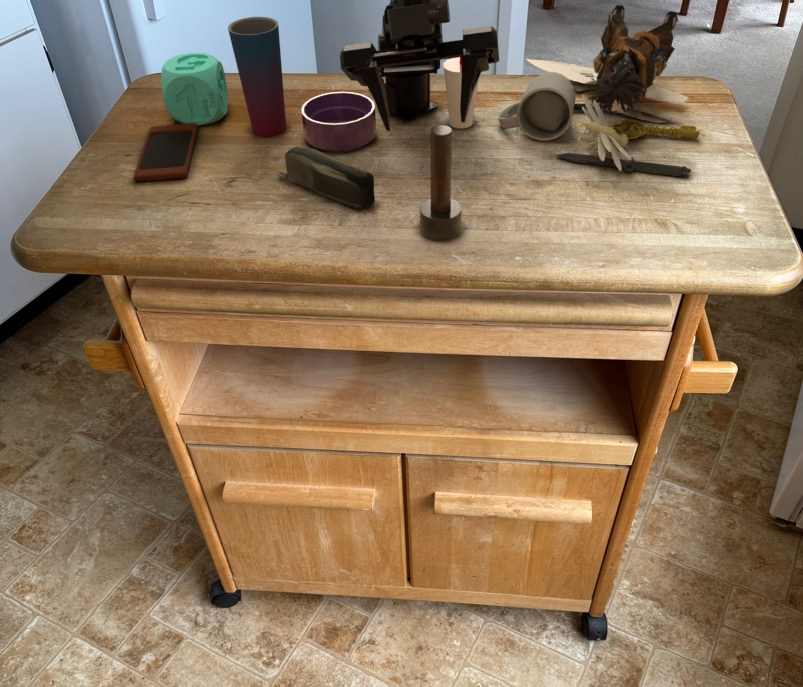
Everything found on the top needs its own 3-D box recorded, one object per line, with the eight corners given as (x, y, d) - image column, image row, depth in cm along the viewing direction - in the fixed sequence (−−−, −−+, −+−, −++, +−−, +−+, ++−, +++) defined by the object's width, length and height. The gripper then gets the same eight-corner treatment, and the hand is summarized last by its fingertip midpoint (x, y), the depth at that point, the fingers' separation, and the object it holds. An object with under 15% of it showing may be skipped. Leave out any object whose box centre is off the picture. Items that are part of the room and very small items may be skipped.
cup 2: (466, 111, 115) (468, 31, 107) (486, 125, 111) (489, 44, 103) (436, 120, 113) (435, 40, 105) (455, 135, 110) (456, 53, 101)
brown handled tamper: (440, 213, 94) (441, 115, 86) (469, 229, 92) (473, 129, 83) (411, 229, 92) (409, 130, 83) (440, 246, 89) (441, 145, 80)
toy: (551, 115, 108) (566, 84, 104) (605, 126, 110) (622, 96, 107) (580, 179, 98) (599, 147, 95) (639, 189, 101) (659, 159, 97)
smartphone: (151, 131, 113) (134, 183, 102) (149, 125, 112) (132, 176, 101) (198, 127, 113) (187, 179, 102) (197, 122, 113) (185, 172, 102)
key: (700, 123, 107) (699, 139, 103) (698, 131, 108) (697, 148, 104) (614, 115, 110) (611, 131, 106) (613, 124, 110) (609, 139, 107)
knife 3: (692, 162, 100) (690, 176, 98) (690, 168, 100) (689, 181, 98) (556, 146, 104) (552, 159, 102) (555, 151, 105) (551, 164, 103)
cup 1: (284, 140, 110) (268, 35, 100) (239, 137, 111) (220, 33, 101) (298, 119, 115) (284, 17, 104) (255, 116, 116) (238, 15, 106)
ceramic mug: (573, 117, 112) (579, 66, 107) (569, 143, 106) (574, 91, 101) (502, 113, 115) (504, 62, 109) (494, 138, 109) (496, 86, 104)
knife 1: (676, 110, 111) (677, 105, 110) (515, 67, 125) (515, 62, 124) (693, 96, 114) (694, 91, 114) (534, 55, 128) (535, 51, 127)
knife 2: (672, 136, 109) (676, 120, 112) (674, 127, 108) (678, 111, 111) (546, 114, 114) (553, 99, 117) (547, 105, 113) (554, 91, 116)
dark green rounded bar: (377, 169, 93) (285, 136, 100) (362, 180, 92) (269, 146, 98) (378, 204, 97) (289, 170, 103) (364, 215, 95) (274, 180, 101)
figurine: (687, -4, 115) (677, 62, 93) (665, 80, 124) (651, 160, 102) (613, -13, 118) (587, 50, 96) (596, 70, 126) (569, 146, 104)
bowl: (345, 114, 116) (343, 85, 112) (391, 136, 110) (389, 107, 107) (290, 137, 110) (286, 107, 107) (335, 162, 105) (332, 131, 102)
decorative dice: (170, 127, 113) (157, 75, 108) (179, 103, 119) (167, 53, 114) (223, 125, 114) (213, 72, 108) (230, 101, 119) (221, 51, 114)
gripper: (322, -21, 84) (334, 121, 85) (490, -47, 81) (500, 101, 82) (346, 14, 95) (356, 140, 96) (495, -7, 92) (503, 123, 93)
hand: (425, 126), depth 92 cm, fingers open, 9 cm apart
